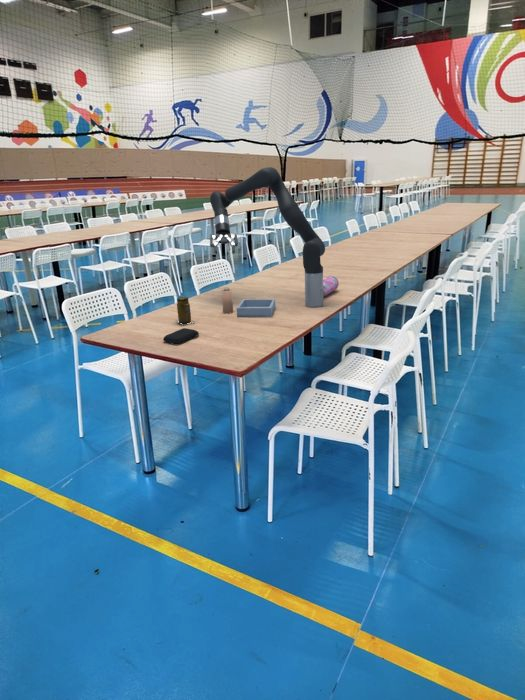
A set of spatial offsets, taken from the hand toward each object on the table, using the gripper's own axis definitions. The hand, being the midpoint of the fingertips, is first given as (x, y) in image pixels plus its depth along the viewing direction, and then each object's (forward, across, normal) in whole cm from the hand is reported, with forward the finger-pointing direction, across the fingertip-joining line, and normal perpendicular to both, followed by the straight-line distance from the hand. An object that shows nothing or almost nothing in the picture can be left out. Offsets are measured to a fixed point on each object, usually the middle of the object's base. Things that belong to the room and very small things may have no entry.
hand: (224, 253), depth 243 cm
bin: (+31, +14, +6) cm, 34 cm away
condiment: (+36, -22, +3) cm, 43 cm away
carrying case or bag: (+52, -24, -14) cm, 59 cm away
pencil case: (+15, +56, +21) cm, 61 cm away
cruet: (+28, 0, +11) cm, 30 cm away
